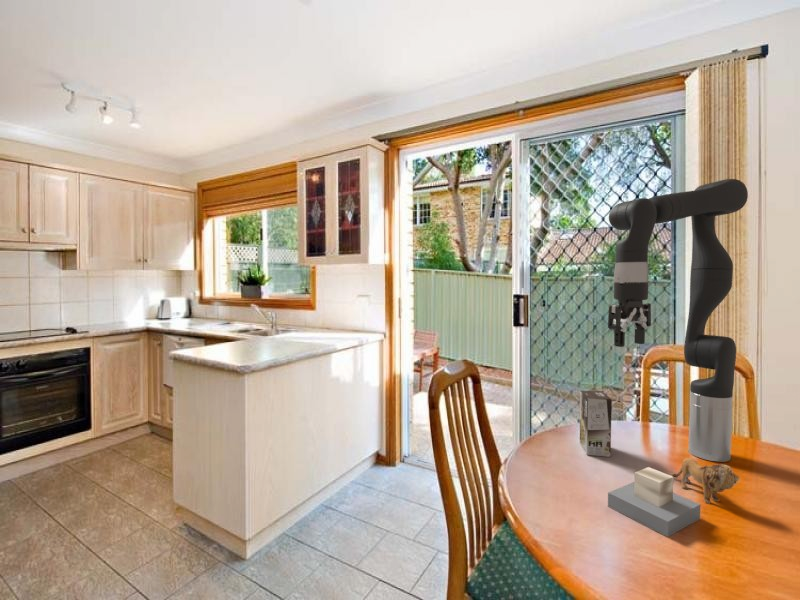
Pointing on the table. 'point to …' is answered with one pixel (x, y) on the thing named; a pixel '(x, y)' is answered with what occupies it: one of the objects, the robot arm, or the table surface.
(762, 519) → the table surface
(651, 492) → the wooden block
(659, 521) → the base
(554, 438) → the table surface
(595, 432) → the coffee box
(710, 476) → the lion figurine
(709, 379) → the robot arm
